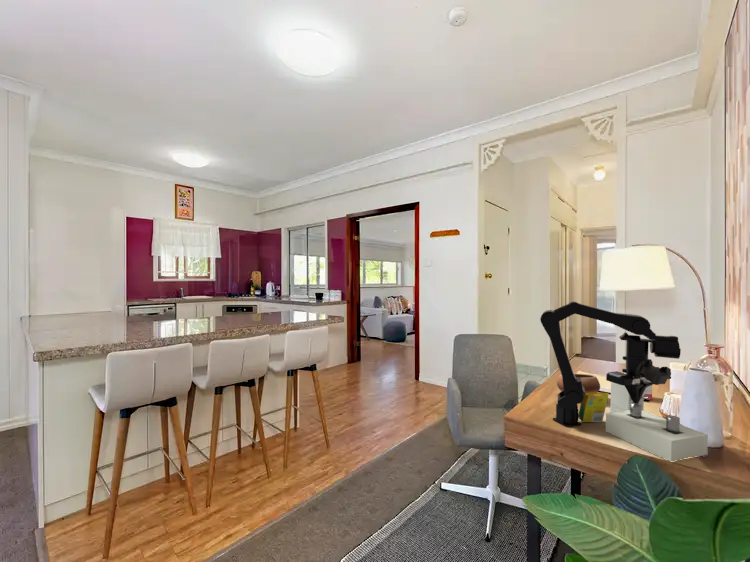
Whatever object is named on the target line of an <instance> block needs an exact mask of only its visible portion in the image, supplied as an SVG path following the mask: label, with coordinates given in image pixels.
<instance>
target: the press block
mask: <svg viewBox="0 0 750 562" xmlns="http://www.w3.org/2000/svg"><path fill="white" fill-rule="evenodd" d="M606 431H607V433H608V432H609V434H610V433H611V435H613V436H614V437H617V438H619V439H621V440H623V441H625V442H626V443H630V444H631V443H632V445H633V446H636V447H638V448H640V449H642V448H643V449H642V450H644V449H645V450H644V451H646V450H647V451H646V452H648V451H649V452H648V453H650V452H651V454H652V453H653V455H654V454H655V456H657V455H658V456H657V457H659V456H660V457H659V458H661V457H663V458H665V459H668V460H670V461H675V460H680V459H684V458H688V457H695V456H700V455H704V454H707V455H708V446H709V445H708V444H709V443H708V441H709V440H708V439H709V438H708V437H709V435H708V434H707V433H704V432H702V431H698V430H696V429H693V428H690V427H688V426H685V425H682V424H680V430H679V434H673V433H670V432H668V431H666V418H664V417H661V416H659V415H656V414H653V413H651V412H647V411H645V410H644V409H643V410H642V419H635V418H633V417H630V410H627V411H619V412H606V413H605V432H606ZM663 458H662V459H663ZM665 459H664V460H665Z"/></svg>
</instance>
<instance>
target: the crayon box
mask: <svg viewBox="0 0 750 562" xmlns="http://www.w3.org/2000/svg"><path fill="white" fill-rule="evenodd" d="M583 395H584V399H583V401H582V402H581V403H580V406H579V409H578V420H579V421H581V423H603V420H604V416H605V411H606V408H607V403H608V398H609V395H610V393H609V392H597V393H596V392H589V393H585V394H583Z"/></svg>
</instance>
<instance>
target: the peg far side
mask: <svg viewBox="0 0 750 562" xmlns="http://www.w3.org/2000/svg"><path fill="white" fill-rule="evenodd" d="M665 419H666V431H668V432H670V433H673V434H679V430H680V425H681V423H680V417H679V416H676V415H669V414H668V415H667V414H666V418H665Z"/></svg>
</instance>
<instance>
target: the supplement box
mask: <svg viewBox="0 0 750 562" xmlns="http://www.w3.org/2000/svg"><path fill="white" fill-rule="evenodd" d="M644 400H645V399H644V392H643V394H642V397H641V399H640V401H639V403H640V404H642V410H643V411H644V407H645V406H644ZM631 402H633V401H632V399H631V397H630V395H629V393H628V391H627V389H626V388H625V386H624V385H619V384H616V383H613V382H610V411H609V413H611V412H619V411H627V410H630V403H631Z"/></svg>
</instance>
